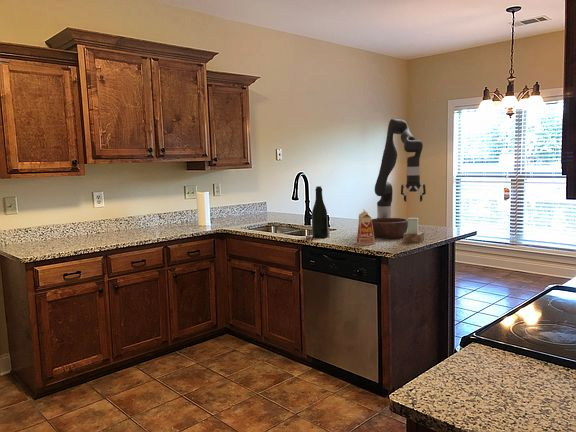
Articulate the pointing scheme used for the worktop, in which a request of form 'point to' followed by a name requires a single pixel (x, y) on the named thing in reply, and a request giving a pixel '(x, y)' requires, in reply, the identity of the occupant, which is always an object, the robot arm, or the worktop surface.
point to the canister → (412, 225)
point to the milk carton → (365, 230)
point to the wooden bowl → (389, 227)
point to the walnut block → (413, 237)
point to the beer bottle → (319, 216)
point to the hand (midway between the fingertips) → (413, 201)
